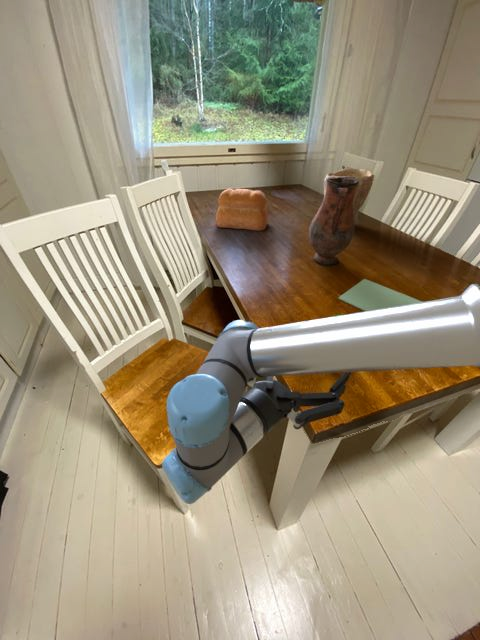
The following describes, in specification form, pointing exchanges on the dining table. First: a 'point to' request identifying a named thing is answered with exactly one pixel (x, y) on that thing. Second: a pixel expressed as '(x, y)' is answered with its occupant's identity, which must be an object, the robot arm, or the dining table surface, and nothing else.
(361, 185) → the tan flared vase
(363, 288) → the cloth
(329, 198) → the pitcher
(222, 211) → the bread
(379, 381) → the dining table surface
